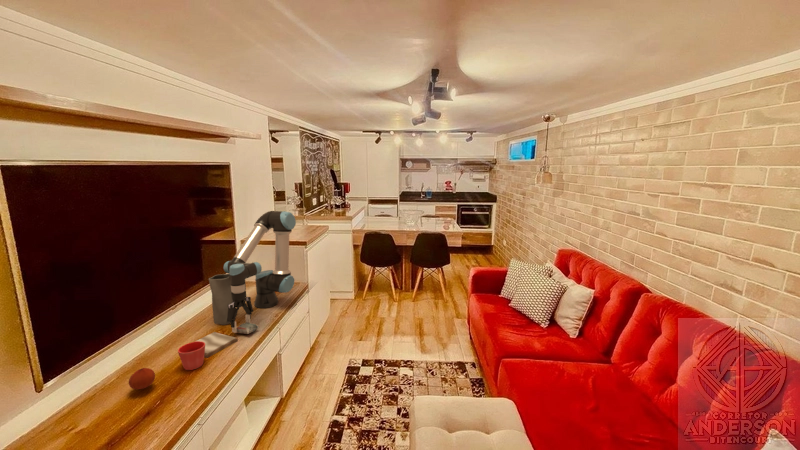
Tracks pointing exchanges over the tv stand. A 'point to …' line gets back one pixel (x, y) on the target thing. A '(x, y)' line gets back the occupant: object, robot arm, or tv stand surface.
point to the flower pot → (192, 355)
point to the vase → (220, 297)
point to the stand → (216, 343)
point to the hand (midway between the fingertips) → (241, 328)
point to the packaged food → (247, 328)
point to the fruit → (142, 378)
